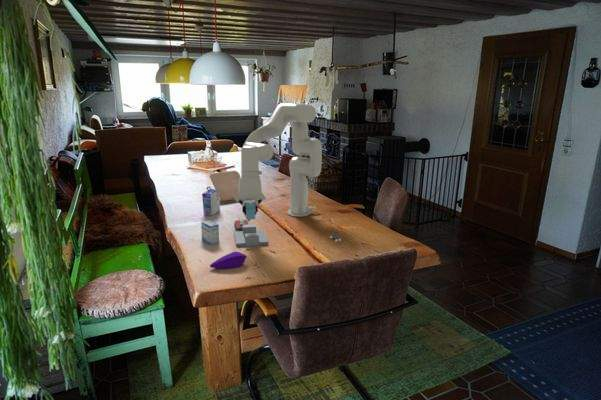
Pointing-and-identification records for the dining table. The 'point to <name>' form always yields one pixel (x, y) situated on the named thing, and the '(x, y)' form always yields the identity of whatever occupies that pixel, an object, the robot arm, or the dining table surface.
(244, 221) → the walkie-talkie
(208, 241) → the medicine box
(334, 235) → the car cutout
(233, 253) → the purple tapered spindle
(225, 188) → the case
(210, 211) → the ink cartridge box
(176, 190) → the dining table surface
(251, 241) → the block
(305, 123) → the robot arm
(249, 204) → the block
